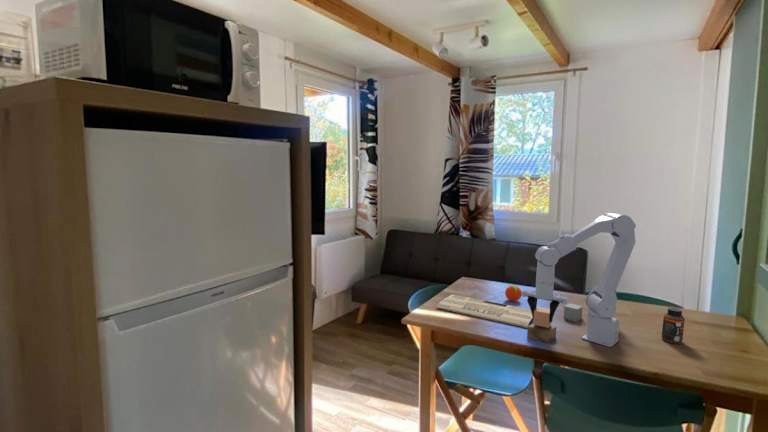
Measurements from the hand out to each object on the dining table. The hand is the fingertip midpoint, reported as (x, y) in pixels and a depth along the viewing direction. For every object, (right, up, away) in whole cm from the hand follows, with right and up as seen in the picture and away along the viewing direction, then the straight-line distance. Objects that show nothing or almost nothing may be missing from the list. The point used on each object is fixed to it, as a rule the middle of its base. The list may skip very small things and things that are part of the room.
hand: (542, 319), depth 145 cm
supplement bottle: (+44, -7, 0) cm, 45 cm away
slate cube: (+19, -4, +19) cm, 28 cm away
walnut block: (0, -6, +1) cm, 6 cm away
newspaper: (-13, -4, +25) cm, 29 cm away
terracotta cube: (0, -2, 0) cm, 2 cm away
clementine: (+2, -2, +39) cm, 39 cm away
